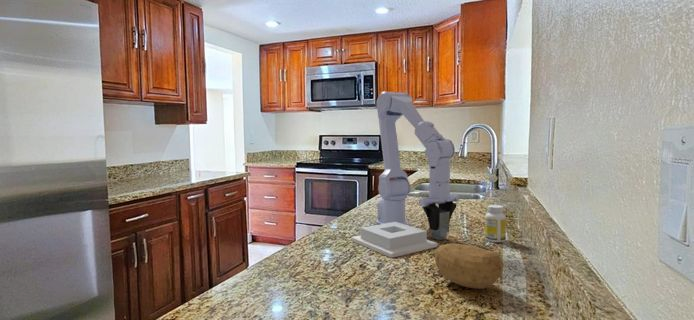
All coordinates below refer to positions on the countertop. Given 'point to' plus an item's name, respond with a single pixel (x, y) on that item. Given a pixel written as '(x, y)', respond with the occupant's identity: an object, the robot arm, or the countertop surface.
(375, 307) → the countertop surface
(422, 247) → the bracket board
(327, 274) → the countertop surface
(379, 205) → the robot arm
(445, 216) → the grey tall block
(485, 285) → the potato
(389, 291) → the countertop surface
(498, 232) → the supplement bottle
